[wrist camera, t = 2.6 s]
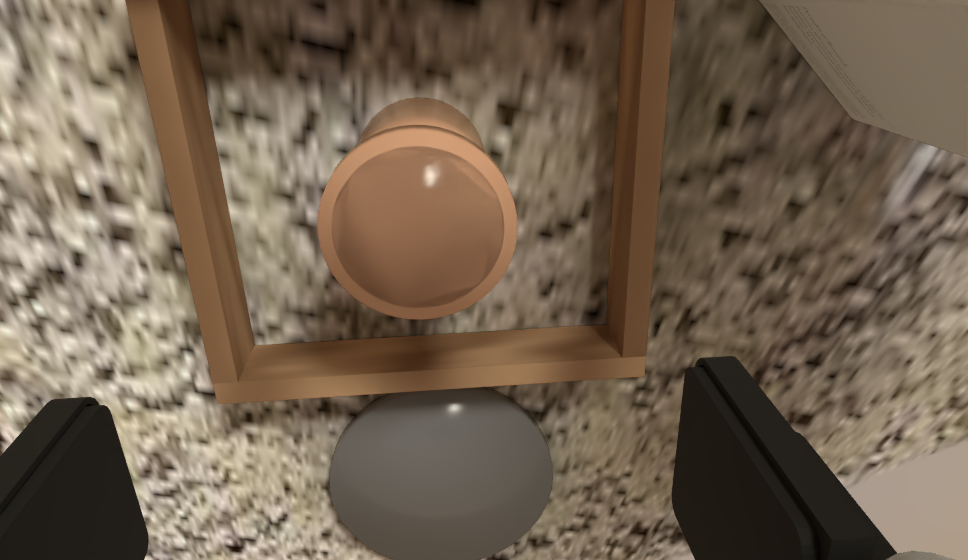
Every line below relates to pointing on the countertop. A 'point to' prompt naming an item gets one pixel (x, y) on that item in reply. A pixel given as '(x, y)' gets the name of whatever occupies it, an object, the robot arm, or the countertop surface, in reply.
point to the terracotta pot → (418, 214)
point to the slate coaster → (441, 474)
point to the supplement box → (889, 61)
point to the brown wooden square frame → (407, 359)
